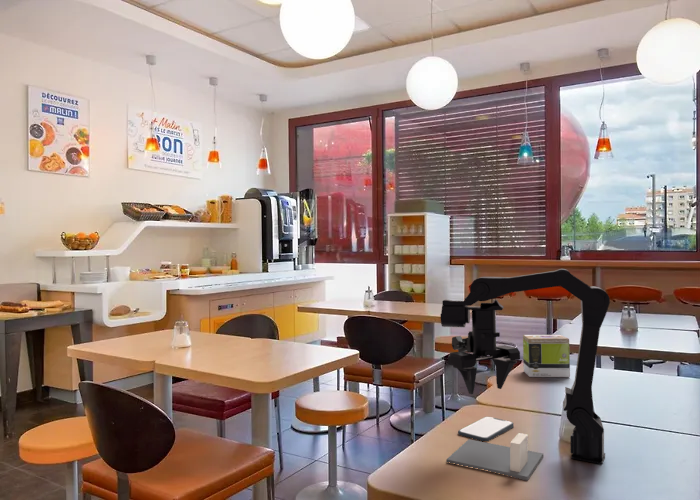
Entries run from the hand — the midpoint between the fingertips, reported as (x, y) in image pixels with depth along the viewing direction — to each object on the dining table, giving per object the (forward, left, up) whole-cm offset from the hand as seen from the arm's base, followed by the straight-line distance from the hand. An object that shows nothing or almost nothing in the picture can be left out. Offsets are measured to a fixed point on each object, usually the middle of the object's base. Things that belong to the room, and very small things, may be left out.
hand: (485, 391), depth 134 cm
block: (-11, +10, -13) cm, 20 cm away
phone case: (+3, -11, -14) cm, 18 cm away
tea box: (+3, -84, -14) cm, 85 cm away
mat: (-5, +8, -13) cm, 16 cm away
